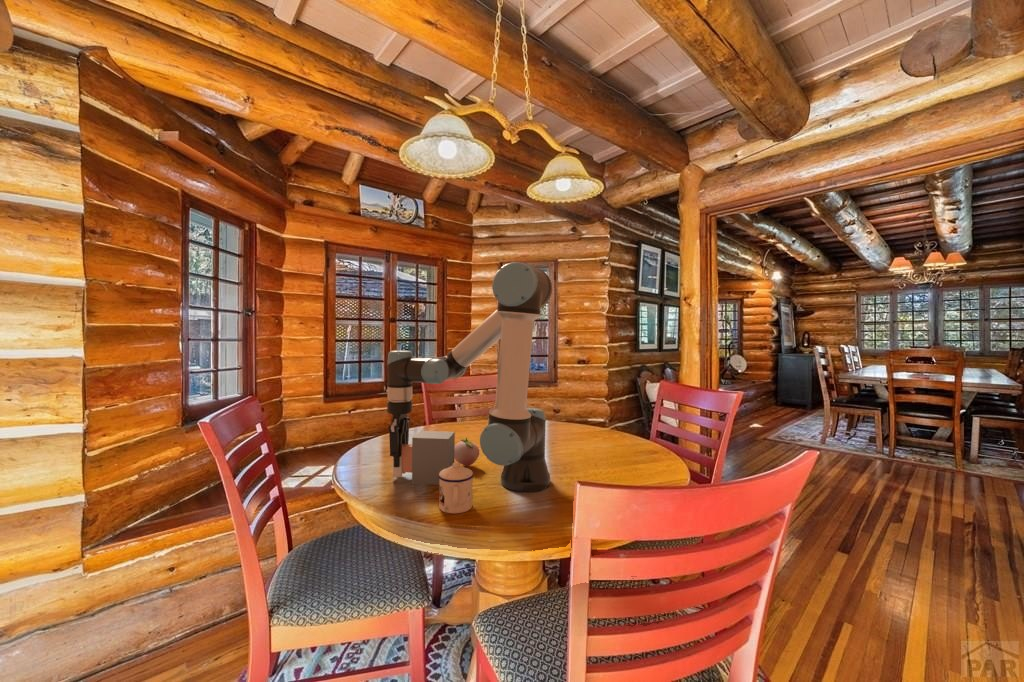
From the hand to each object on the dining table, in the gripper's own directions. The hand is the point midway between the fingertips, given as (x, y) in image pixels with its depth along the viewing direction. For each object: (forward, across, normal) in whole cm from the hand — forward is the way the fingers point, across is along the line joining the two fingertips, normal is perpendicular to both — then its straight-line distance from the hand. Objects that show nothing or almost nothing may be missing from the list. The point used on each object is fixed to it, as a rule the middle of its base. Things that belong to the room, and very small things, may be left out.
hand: (399, 474), depth 130 cm
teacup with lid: (+1, +20, +22) cm, 30 cm away
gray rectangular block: (+1, 0, +11) cm, 11 cm away
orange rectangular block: (-1, 0, +7) cm, 7 cm away
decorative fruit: (+1, -12, +19) cm, 22 cm away
